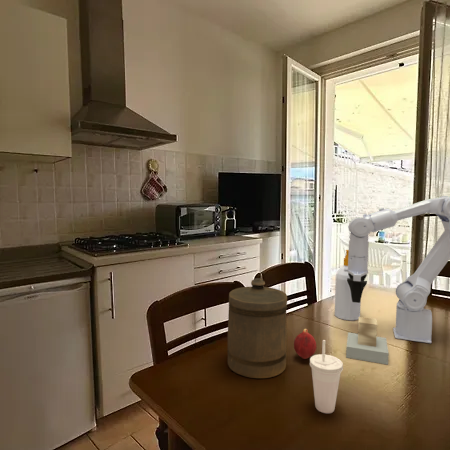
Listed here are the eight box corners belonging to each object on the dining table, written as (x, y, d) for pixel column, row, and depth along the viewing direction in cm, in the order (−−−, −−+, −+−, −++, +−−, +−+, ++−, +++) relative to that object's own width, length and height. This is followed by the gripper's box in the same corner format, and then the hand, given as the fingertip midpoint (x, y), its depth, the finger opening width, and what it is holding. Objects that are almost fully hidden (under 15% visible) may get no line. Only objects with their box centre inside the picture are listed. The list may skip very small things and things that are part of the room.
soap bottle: (362, 314, 121) (365, 249, 119) (357, 322, 113) (359, 252, 111) (338, 310, 126) (340, 247, 124) (331, 317, 118) (333, 250, 116)
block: (375, 340, 92) (376, 318, 92) (376, 346, 88) (377, 324, 88) (357, 337, 94) (358, 316, 94) (357, 344, 90) (358, 322, 89)
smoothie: (304, 398, 71) (305, 334, 69) (333, 397, 71) (335, 333, 70) (315, 418, 64) (316, 348, 63) (347, 416, 65) (349, 346, 64)
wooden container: (290, 355, 90) (291, 274, 88) (280, 384, 76) (282, 289, 74) (237, 347, 95) (237, 270, 93) (219, 372, 81) (219, 283, 79)
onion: (316, 365, 84) (317, 334, 84) (293, 363, 86) (294, 332, 85) (315, 354, 90) (316, 326, 89) (293, 352, 91) (294, 324, 91)
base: (385, 348, 94) (386, 337, 94) (388, 364, 85) (388, 353, 85) (347, 342, 98) (348, 332, 98) (346, 357, 89) (346, 346, 88)
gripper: (345, 251, 113) (344, 291, 114) (343, 258, 99) (341, 303, 100) (368, 253, 110) (366, 293, 111) (369, 260, 97) (367, 306, 98)
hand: (356, 298), depth 106 cm, fingers open, 7 cm apart
